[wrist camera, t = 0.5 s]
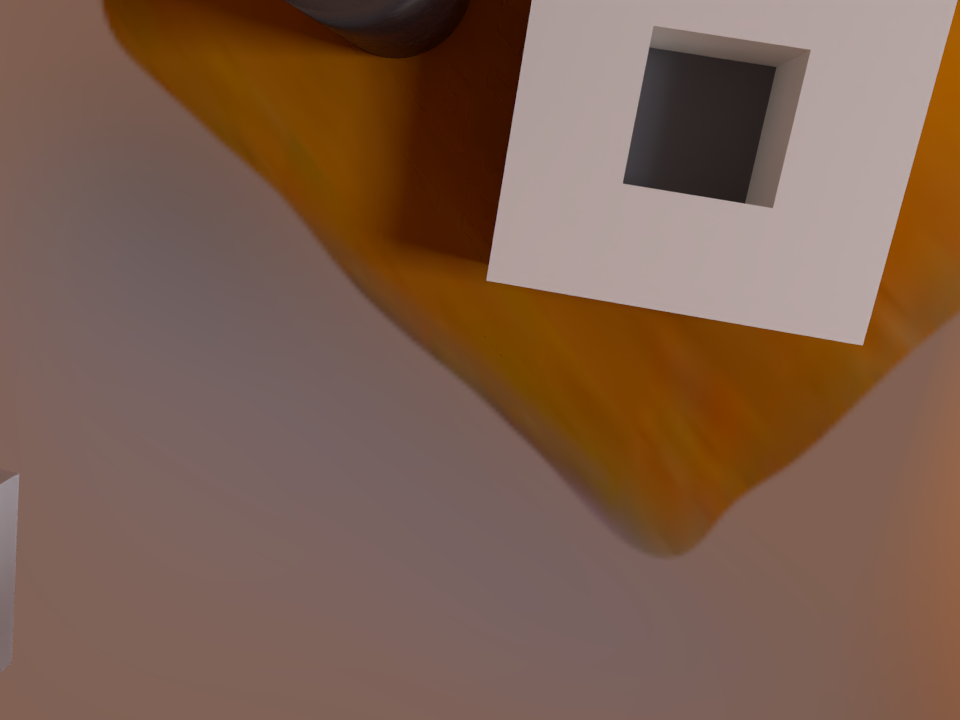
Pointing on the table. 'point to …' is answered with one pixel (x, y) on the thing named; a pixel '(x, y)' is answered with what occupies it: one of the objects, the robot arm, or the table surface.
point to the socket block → (717, 154)
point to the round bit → (388, 23)
